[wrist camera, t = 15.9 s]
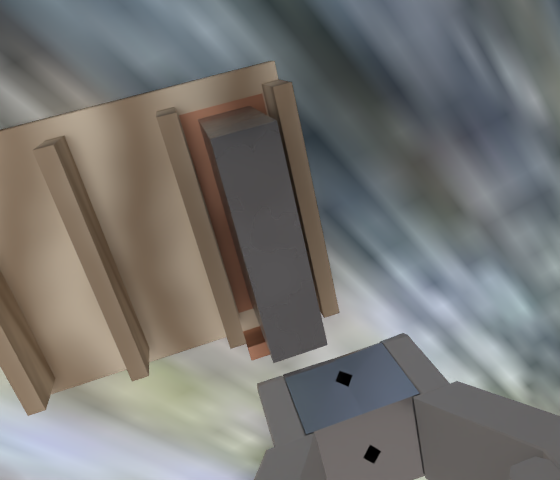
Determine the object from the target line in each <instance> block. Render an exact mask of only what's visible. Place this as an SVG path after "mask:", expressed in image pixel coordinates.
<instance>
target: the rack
mask: <svg viewBox="0 0 560 480" xmlns="http://www.w3.org/2000/svg"><path fill="white" fill-rule="evenodd" d="M246 106H251V107H253V108H255V109H257V110H258V111H260V112H262V113H264V114H266V115H267V116H269V117H271V118H273V119H275V120H276V121H277V123H278V128H279V132H280V136H281V141H282V145H283V150H284V154H285V159H286V163H287V167H288V172H289V176H290V181H291V185H292V190H293V194H294V198H295V203H296V207H297V212H298V216H299V221H300V225H301V230H302V234H303V238H304V243H305V247H306V252H307V256H308V261H309V265H310V269H311V274H312V278H313V283H314V287H315V292H316V296H317V300H318V305H319V309H320V312H321V313H322V315H323V317H324V318H325V317H328V316H331V315H334V314H337V313H339V308H338V304H337V299H336V294H335V289H334V284H333V279H332V275H331V270H330V265H329V260H328V255H327V250H326V246H325V241H324V236H323V231H322V226H321V221H320V217H319V212H318V207H317V202H316V197H315V192H314V188H313V183H312V178H311V173H310V168H309V163H308V159H307V154H306V149H305V144H304V139H303V134H302V130H301V125H300V120H299V115H298V110H297V105H296V101H295V96H294V91H293V86H292V82H288V81H283V80H279V79H278V75H277V71H276V66H275V61H268V62H264V63H260V64H256V65H252V66H249V67H245V68H241V69H237V70H233V71H229V72H225V73H221V74H217V75H213V76H209V77H206V78H202V79H198V80H194V81H190V82H186V83H182V84H178V85H174V86H170V87H166V88H163V89H159V90H155V91H151V92H147V93H143V94H139V95H135V96H131V97H127V98H123V99H119V100H116V101H112V102H108V103H104V104H100V105H96V106H92V107H88V108H84V109H80V110H76V111H73V112H69V113H65V114H61V115H57V116H53V117H49V118H45V119H41V120H37V121H33V122H30V123H26V124H22V125H18V126H14V127H10V128H6V129H2V130H0V367H1V368H2V370H3V372H4V374H5V375H6V377H7V379H8V381H9V383H10V384H11V386H12V388H13V390H14V392H15V393H16V395H17V397H18V399H19V401H20V402H21V404H22V406H23V408H24V410H25V411H26V413H27V415H28V416H29V415H32V414H35V413H38V412H41V411H44V410H46V407H47V404H48V401H49V398H50V395H51V394H54V393H57V392H60V391H63V390H66V389H69V388H72V387H75V386H78V385H81V384H84V383H87V382H90V381H93V380H96V379H99V378H102V377H106V376H109V375H112V374H115V373H118V372H121V371H124V370H127V371H128V373H129V376H130V378H131V380H132V381H135V380H138V379H141V378H144V377H147V376H149V362H151V361H154V360H158V359H161V358H164V357H167V356H170V355H173V354H176V353H179V352H182V351H185V350H188V349H191V348H194V347H197V346H200V345H203V344H206V343H210V342H213V341H216V340H219V339H222V338H225V337H227V339H228V342H229V345H230V348H234V347H237V346H241V345H244V344H247V347H248V350H249V353H250V357H251V360H255V359H258V358H261V357H264V356H267V355H270V352H269V349H268V347H267V344H266V342H265V339H264V336H263V334H262V331H261V328H260V326H259V323H258V320H257V318H256V315H255V312H254V310H253V307H252V304H251V302H250V298H249V295H248V291H247V288H246V285H245V281H244V278H243V274H242V271H241V267H240V264H239V260H238V257H237V253H236V250H235V246H234V243H233V240H232V236H231V233H230V229H229V226H228V222H227V219H226V215H225V212H224V208H223V205H222V201H221V198H220V195H219V191H218V188H217V184H216V181H215V177H214V174H213V170H212V167H211V163H210V160H209V156H208V153H207V150H206V146H205V143H204V139H203V136H202V132H201V129H200V125H199V122H198V119H201V118H205V117H208V116H212V115H216V114H220V113H223V112H227V111H231V110H235V109H238V108H242V107H246Z"/></svg>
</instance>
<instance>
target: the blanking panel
mask: <svg viewBox="0 0 560 480" xmlns="http://www.w3.org/2000/svg"><path fill="white" fill-rule="evenodd" d="M198 122H199V125H200V129H201V132H202V136H203V139H204V143H205V146H206V150H207V153H208V156H209V160H210V163H211V167H212V170H213V174H214V177H215V181H216V184H217V188H218V191H219V195H220V198H221V201H222V205H223V208H224V212H225V215H226V219H227V222H228V226H229V229H230V233H231V236H232V240H233V243H234V246H235V250H236V253H237V257H238V260H239V264H240V267H241V271H242V274H243V278H244V281H245V285H246V288H247V291H248V295H249V298H250V302H251V304H252V307H253V310H254V312H255V315H256V318H257V320H258V323H259V326H260V328H261V331H262V334H263V336H264V339H265V342H266V344H267V347H268V349H269V352H270V355H271V357H272V360H273V363H275V362H278V361H281V360H284V359H287V358H290V357H293V356H296V355H299V354H302V353H305V352H308V351H311V350H314V349H317V348H320V347H323V346H325V345H327V340H326V336H325V332H324V327H323V323H322V318H321V314H320V309H319V305H318V300H317V296H316V292H315V287H314V283H313V278H312V274H311V269H310V265H309V261H308V256H307V252H306V247H305V243H304V238H303V234H302V230H301V225H300V221H299V216H298V212H297V207H296V203H295V198H294V194H293V190H292V185H291V181H290V176H289V172H288V167H287V163H286V159H285V154H284V150H283V145H282V141H281V136H280V132H279V128H278V123H277V121H276V120H275V119H273V118H271V117H269V116H267V115H266V114H264V113H262V112H260V111H258V110H257V109H255V108H253V107H251V106H246V107H242V108H238V109H235V110H231V111H227V112H223V113H220V114H216V115H212V116H208V117H205V118H201V119H198Z"/></svg>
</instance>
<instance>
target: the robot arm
mask: <svg viewBox="0 0 560 480" xmlns="http://www.w3.org/2000/svg"><path fill="white" fill-rule="evenodd" d="M283 377H284V378H283ZM257 388H258V392H259V396H260V399H261V403H262V406H263V410H264V413H265V417H266V420H267V424H268V427H269V431H270V434H271V438H272V441H273V445H274V448H271V449H268V450H266V452H265V455H264V457H263V460H262V462H261V464H260V467H259V469H258V471H257V474H256V476H255V479H254V480H414V479H417V478H419V477H422V476H425V478H426V479H428V480H560V416H558V415H555V414H552V413H549V412H546V411H543V410H540V409H537V408H534V407H531V406H529V405H526V404H523V403H520V402H517V401H514V400H511V399H508V398H505V397H502V396H499V395H496V394H493V393H491V392H488V391H485V390H482V389H479V388H476V387H473V386H470V385H467V384H464V383H461V382H458V381H456V382H454V383H451V384H450V383H449V382H448V381H447V380H446V379H445V377H444V376H443V375H442V374H441V373H440V372H439V371H438V369H437V368H436V367H435V366H434V365H433V364H432V362H431V361H430V360H429V359H428V358H427V357H426V356H425V354H424V353H423V352H422V351H421V350H420V349H419V348H418V346H417V345H416V344H415V343H414V342H413V341H412V339H411V338H410V337H409V336H408V335H406V334H404V333H402V334H399V335H397V336H394V337H391V338H389V339H386V340H383V341H381V342H380V343H377V344H374V345H372V346H369V347H366V348H363V349H360V350H357V351H354V352H352V353H349V354H346V355H343V356H340V357H337V358H334V359H331V360H328V361H325V362H321V363H318V364H315V365H312V366H309V367H306V368H303V369H300V370H296V371H293V372H290V373H287V374H284V375H283V376H279V377H276V378H273V379H270V380H267V381H263V382H260V383H257Z"/></svg>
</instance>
